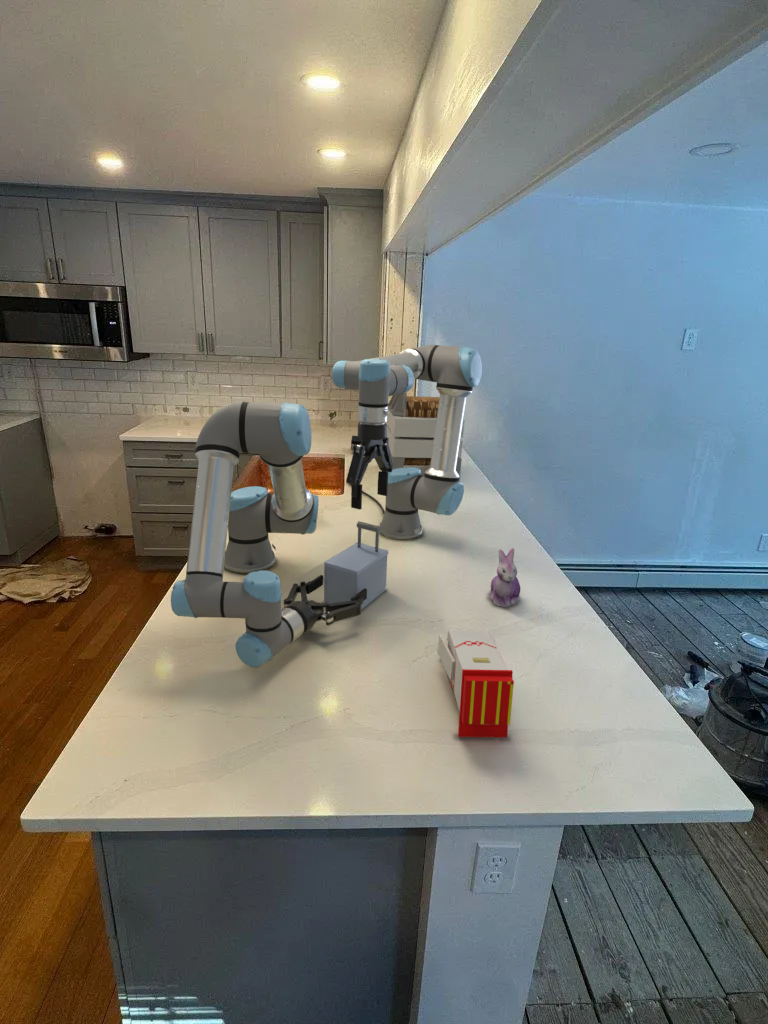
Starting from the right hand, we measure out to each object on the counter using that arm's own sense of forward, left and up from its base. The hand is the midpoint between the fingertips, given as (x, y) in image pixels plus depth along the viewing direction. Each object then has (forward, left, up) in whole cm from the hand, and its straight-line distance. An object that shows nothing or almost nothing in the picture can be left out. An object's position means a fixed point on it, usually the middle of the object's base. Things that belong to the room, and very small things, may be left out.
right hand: (369, 501), depth 151 cm
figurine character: (-128, +97, -26) cm, 163 cm away
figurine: (+28, +27, -26) cm, 46 cm away
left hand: (+4, -12, -20) cm, 23 cm away
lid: (+2, -5, -15) cm, 16 cm away
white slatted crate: (-78, +96, -26) cm, 126 cm away
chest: (+2, -5, -26) cm, 27 cm away
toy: (+49, -12, -26) cm, 56 cm away
